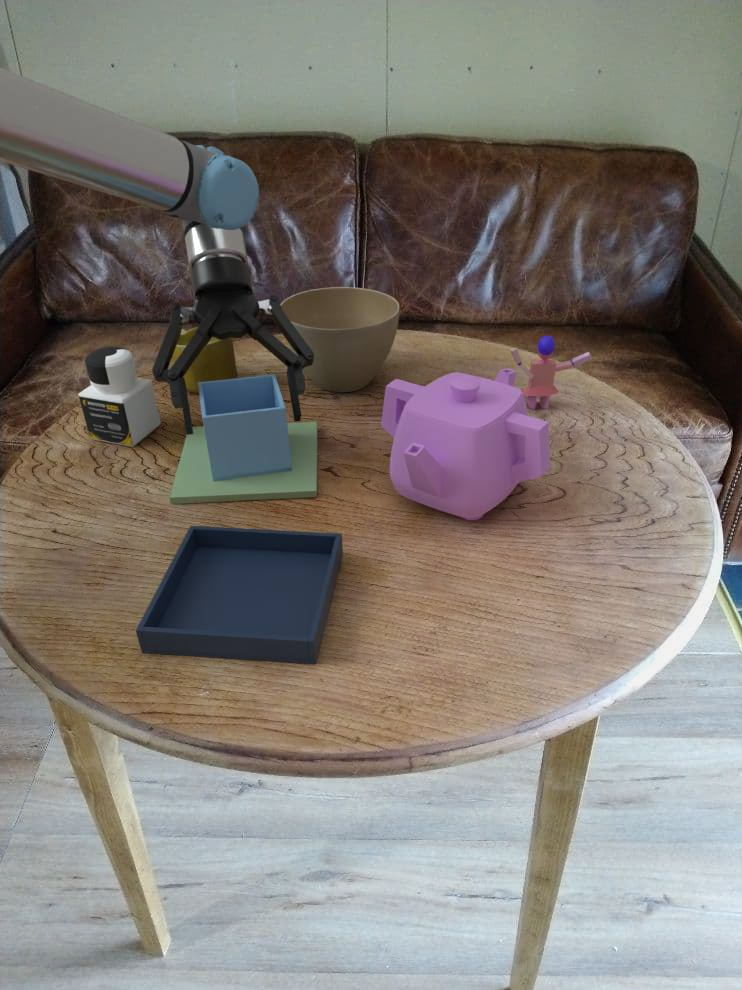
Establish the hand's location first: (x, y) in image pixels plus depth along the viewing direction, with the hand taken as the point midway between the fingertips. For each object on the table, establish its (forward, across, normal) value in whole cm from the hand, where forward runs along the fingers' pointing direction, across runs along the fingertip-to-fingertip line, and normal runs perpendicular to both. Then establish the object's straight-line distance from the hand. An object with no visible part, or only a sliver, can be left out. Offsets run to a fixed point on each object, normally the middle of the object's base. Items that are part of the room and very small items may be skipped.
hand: (244, 425), depth 100 cm
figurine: (0, -45, -10) cm, 46 cm away
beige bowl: (-12, -17, -21) cm, 30 cm away
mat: (+3, 0, -6) cm, 7 cm away
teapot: (+13, -25, +3) cm, 29 cm away
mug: (-16, +4, -25) cm, 30 cm away
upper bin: (+3, 0, -5) cm, 6 cm away
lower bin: (+23, +3, +14) cm, 27 cm away
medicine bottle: (-6, +16, -15) cm, 23 cm away
